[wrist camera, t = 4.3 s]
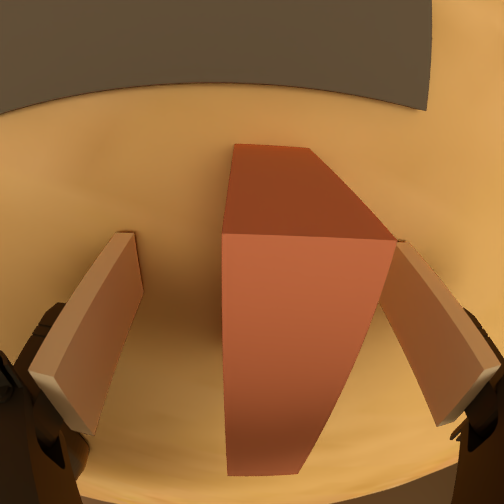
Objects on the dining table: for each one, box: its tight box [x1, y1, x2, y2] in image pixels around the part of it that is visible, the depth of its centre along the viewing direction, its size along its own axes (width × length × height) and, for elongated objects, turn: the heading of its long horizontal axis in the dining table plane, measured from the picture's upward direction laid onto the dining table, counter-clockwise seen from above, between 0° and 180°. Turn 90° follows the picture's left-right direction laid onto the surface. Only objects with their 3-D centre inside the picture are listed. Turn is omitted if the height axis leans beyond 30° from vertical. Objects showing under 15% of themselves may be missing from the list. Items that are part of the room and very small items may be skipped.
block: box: [222, 144, 397, 476], centre depth 9 cm, size 2×9×6 cm, turn 177°
